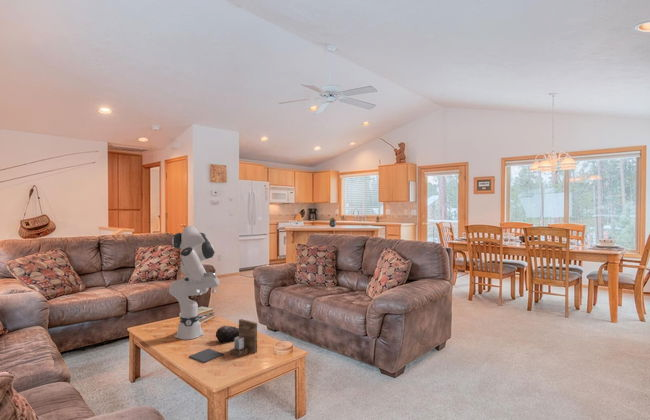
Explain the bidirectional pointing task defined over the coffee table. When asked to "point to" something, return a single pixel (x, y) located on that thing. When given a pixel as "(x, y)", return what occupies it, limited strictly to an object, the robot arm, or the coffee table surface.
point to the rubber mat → (206, 355)
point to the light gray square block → (239, 343)
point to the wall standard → (247, 337)
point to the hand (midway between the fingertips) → (207, 293)
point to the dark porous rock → (227, 334)
